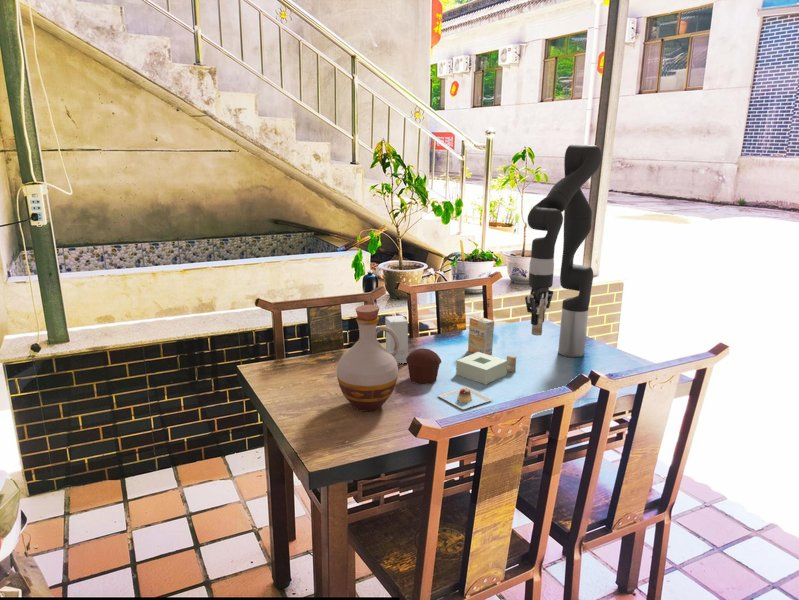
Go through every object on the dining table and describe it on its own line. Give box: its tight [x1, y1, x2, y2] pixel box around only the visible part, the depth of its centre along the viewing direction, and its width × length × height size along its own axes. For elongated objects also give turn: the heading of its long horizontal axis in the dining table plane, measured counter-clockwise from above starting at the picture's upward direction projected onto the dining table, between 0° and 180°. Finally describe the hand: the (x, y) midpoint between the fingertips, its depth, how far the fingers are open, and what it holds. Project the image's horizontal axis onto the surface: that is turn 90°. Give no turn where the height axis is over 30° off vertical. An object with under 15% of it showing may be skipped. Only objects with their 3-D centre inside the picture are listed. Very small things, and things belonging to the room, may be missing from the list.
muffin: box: [406, 348, 442, 386], centre depth 196 cm, size 12×11×10 cm
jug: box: [336, 304, 399, 412], centre depth 173 cm, size 20×18×30 cm
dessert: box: [437, 386, 493, 410], centre depth 182 cm, size 12×12×5 cm
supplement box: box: [467, 315, 495, 356], centre depth 220 cm, size 8×5×13 cm, turn 41°
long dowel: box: [531, 299, 544, 337], centre depth 194 cm, size 3×3×12 cm
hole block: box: [455, 352, 507, 385], centre depth 201 cm, size 12×12×5 cm
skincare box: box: [384, 314, 409, 365], centre depth 211 cm, size 8×7×16 cm
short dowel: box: [506, 354, 517, 373], centre depth 205 cm, size 3×3×5 cm
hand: (537, 323), depth 194 cm, fingers closed on long dowel, 3 cm apart
